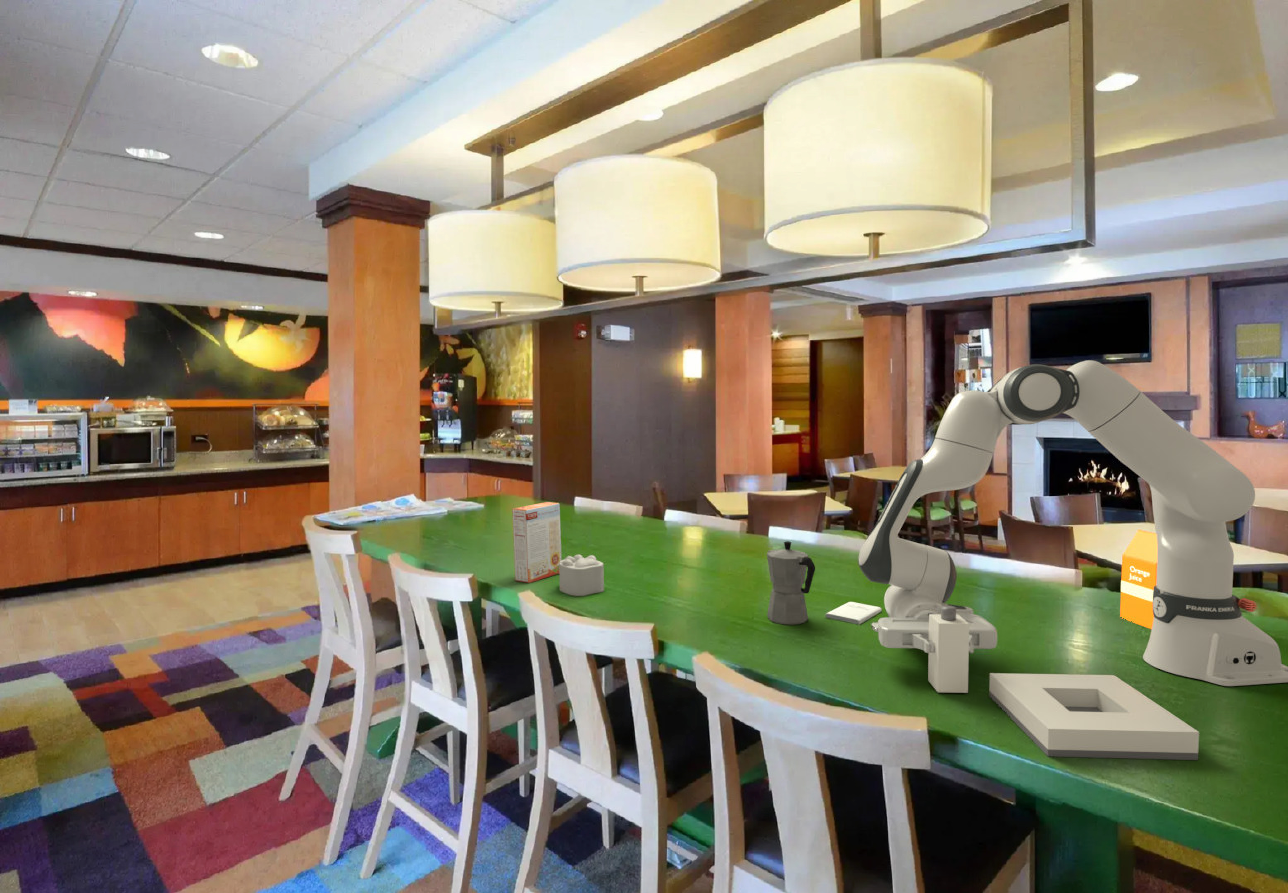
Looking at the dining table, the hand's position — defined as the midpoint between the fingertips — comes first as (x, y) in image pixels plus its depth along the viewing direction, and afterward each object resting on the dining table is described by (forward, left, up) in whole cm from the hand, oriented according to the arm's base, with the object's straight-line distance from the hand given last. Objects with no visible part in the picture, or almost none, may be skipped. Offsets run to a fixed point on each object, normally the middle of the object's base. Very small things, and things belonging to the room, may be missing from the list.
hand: (950, 648), depth 121 cm
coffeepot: (+22, -38, -8) cm, 45 cm away
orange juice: (-57, -39, -8) cm, 69 cm away
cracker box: (+89, -75, -8) cm, 117 cm away
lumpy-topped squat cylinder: (+75, -63, -8) cm, 98 cm away
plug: (0, -1, -7) cm, 7 cm away
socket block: (-16, +12, -7) cm, 21 cm away
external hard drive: (+7, -43, -8) cm, 44 cm away
